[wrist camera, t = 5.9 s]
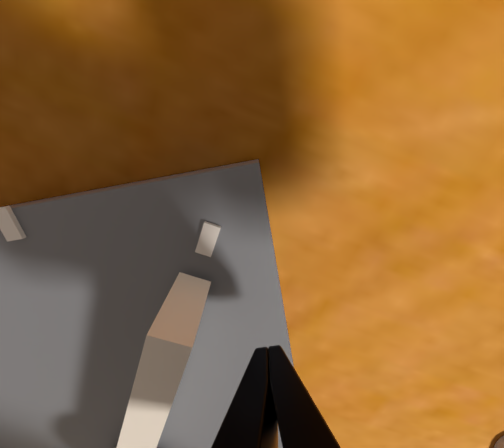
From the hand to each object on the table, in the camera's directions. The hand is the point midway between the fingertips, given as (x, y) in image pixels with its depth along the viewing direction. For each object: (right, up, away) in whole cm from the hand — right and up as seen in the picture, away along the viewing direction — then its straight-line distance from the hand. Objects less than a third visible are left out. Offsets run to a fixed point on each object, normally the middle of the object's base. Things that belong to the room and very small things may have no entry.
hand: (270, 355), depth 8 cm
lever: (-5, -4, +3) cm, 7 cm away
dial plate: (-8, -3, +4) cm, 10 cm away
